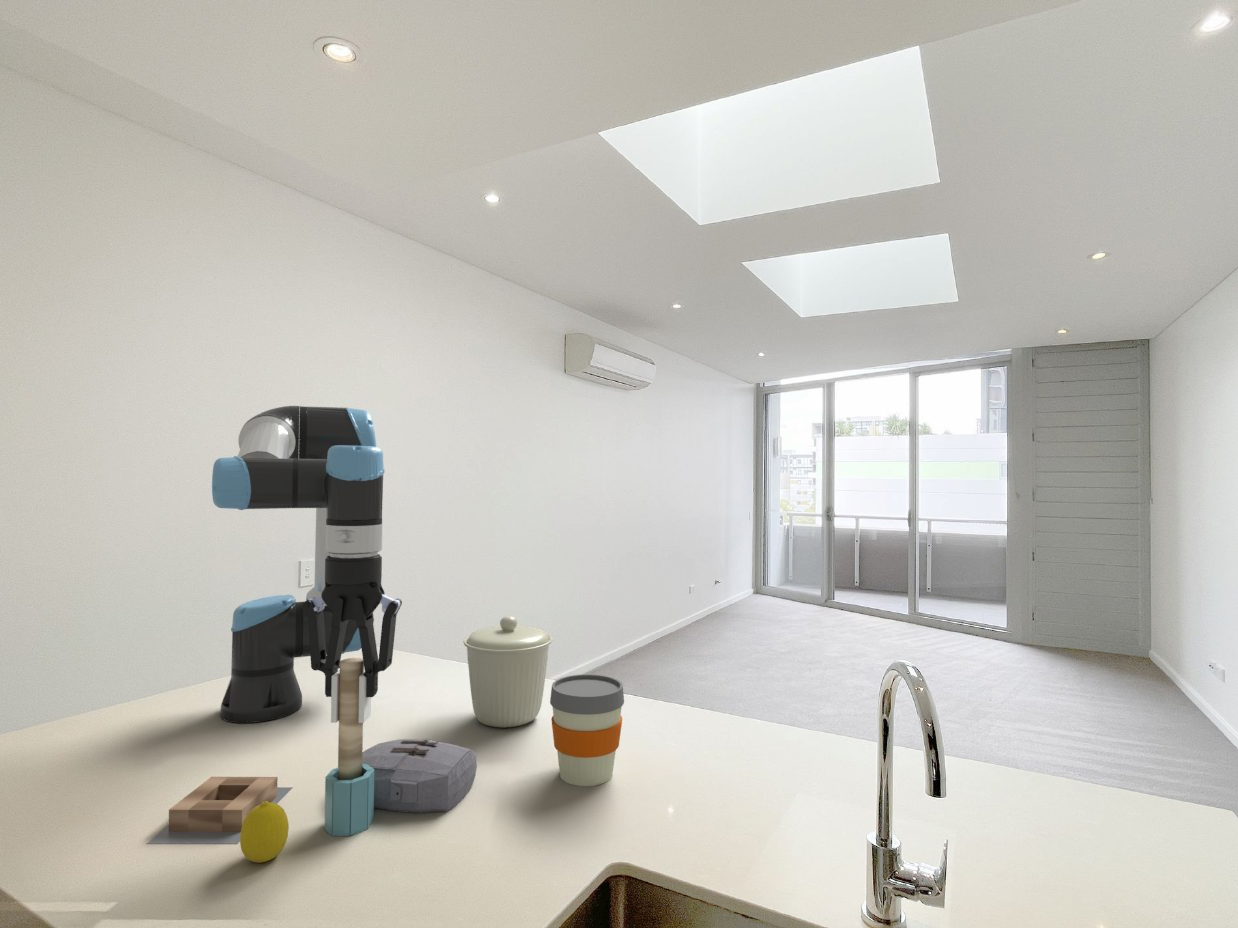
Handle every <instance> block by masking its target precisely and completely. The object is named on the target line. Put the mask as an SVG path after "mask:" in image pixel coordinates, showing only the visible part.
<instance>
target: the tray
mask: <svg viewBox="0 0 1238 928" xmlns="http://www.w3.org/2000/svg"><path fill="white" fill-rule="evenodd" d="M293 788H294V787H289V786H288V787H282V786H281V787H279V786H277V797H276V798H275V799H274V800H273V801H272V802H271V803H275V804H278V803H280V801H281V800H283V798H284V797H286V795H287V794H288V793H289V792H290V791H291V790H292V789H293ZM168 830H169V825H167V826H166V827H165V828H164V829H162V830H161V831H160V832H159V833H157V834H156V835H155V836H153V837H152V839H150V840H149V841H148V842H146V843H145V844H146V845H238V844H240V834H241V832H168Z"/></svg>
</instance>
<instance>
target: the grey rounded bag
mask: <svg viewBox="0 0 1238 928" xmlns="http://www.w3.org/2000/svg"><path fill="white" fill-rule="evenodd" d="M362 764H367V765H369V766H370V767H372V768H373V769H374V809H378V810H379V809H380V810H385V811H386V810H387V811H391V812H401V813H403V812H404V813H418V814H419V813H434V812H435V813H436V812H437V813H438V812H441V813H442V812H444V813H445V812H446V813H447V812H449V811H451V810H452V809H453V808H455V807H456V806H457V805H458V804H459V803H460V802H461V801H462V800H463V799H464V798H465V797H467V794H468V793H469V792H470V791H471V789H472V787H473V784H474V782H475V779H476V776H477V775H476V773H477V769H478V767H477V766H478V764H477V755H476V753H475V751H474V749H471V748H467V747H463V746H460V745H457V744H453V743H446V742H441V741H436V740H431V739H429V738H403V739H395V740H389V741H385V742H380V743H376V744H375V745H373V746H370V747H369V748H367V749H365V750H364V751H362Z"/></svg>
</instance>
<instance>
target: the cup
mask: <svg viewBox="0 0 1238 928" xmlns="http://www.w3.org/2000/svg"><path fill="white" fill-rule="evenodd" d="M324 778H325V782H324V783H325V785H324V787H325V788H324V791H325V792H324V793H325V795H324V830H325V831H326V832H327V833H328V834H329V835H330V836H333V837H351V836H353V835H354V836H355V835H357V834H359V833H362V832H364V831H366V830H368V829H369V828H370V826H371V825H372V823H373V822H374V820H375V818H374V817H375V813H374V811H375V808H374V769H373V768H372V767H370V766H369V765H367V764H362V777H359V778H356V779H353V780H338V767H336V768H332V769H331V770H330V771H329V772H328V774H327V775H325V777H324Z"/></svg>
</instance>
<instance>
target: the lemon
mask: <svg viewBox="0 0 1238 928" xmlns="http://www.w3.org/2000/svg"><path fill="white" fill-rule="evenodd" d="M289 827H290V826H289V820H288V816H287V814H286V811H285V809H284V808H283V806H281V805H279V804H278V803H277V804H275V803H270V802H268V801H264V802H262V804H260V805H258V806H256V807H255V808H253V809H252V810H251V811H250V812H249V813H248V815H247V816H246V818H245V820H244V822H243V825H242V828H241V834H240V842H239V845H240V850H241V853H242V854H243V856H244V857H245V858H246V859H247V860H248V861H250V862H253V863H259V864H260V863H265V862H266V863H267V862H269V861H271V860H273V859H274V858H275V857H277V856H278V855H279V854H280V853H281V852H282V850H283V849H284V847H285V846H286V843H287V842H288V841H287V840H288V835H289Z"/></svg>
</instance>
